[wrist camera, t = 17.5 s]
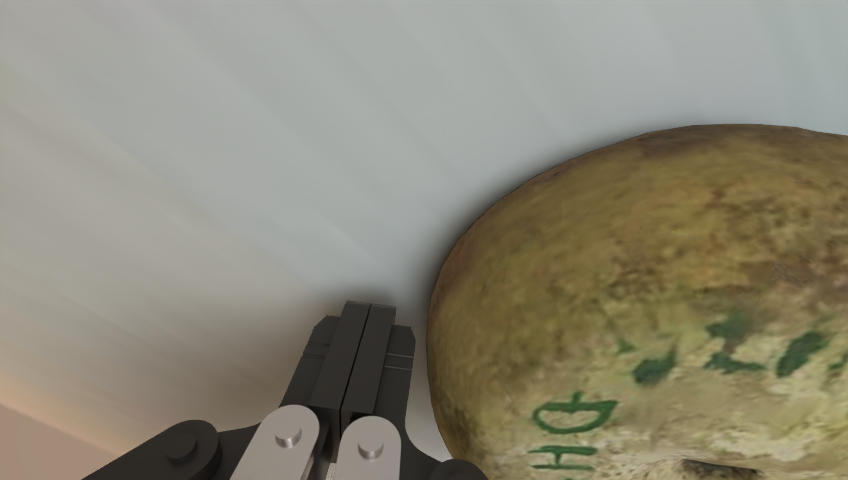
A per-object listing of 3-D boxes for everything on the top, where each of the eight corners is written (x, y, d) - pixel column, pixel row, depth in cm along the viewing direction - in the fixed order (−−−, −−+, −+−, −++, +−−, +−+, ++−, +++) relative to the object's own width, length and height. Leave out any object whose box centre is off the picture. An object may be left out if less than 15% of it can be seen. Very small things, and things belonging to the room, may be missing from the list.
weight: (774, 459, 16) (881, 631, 12) (432, 430, 17) (419, 576, 13) (1070, 109, 8) (1645, 239, 4) (429, 103, 10) (396, 199, 6)
